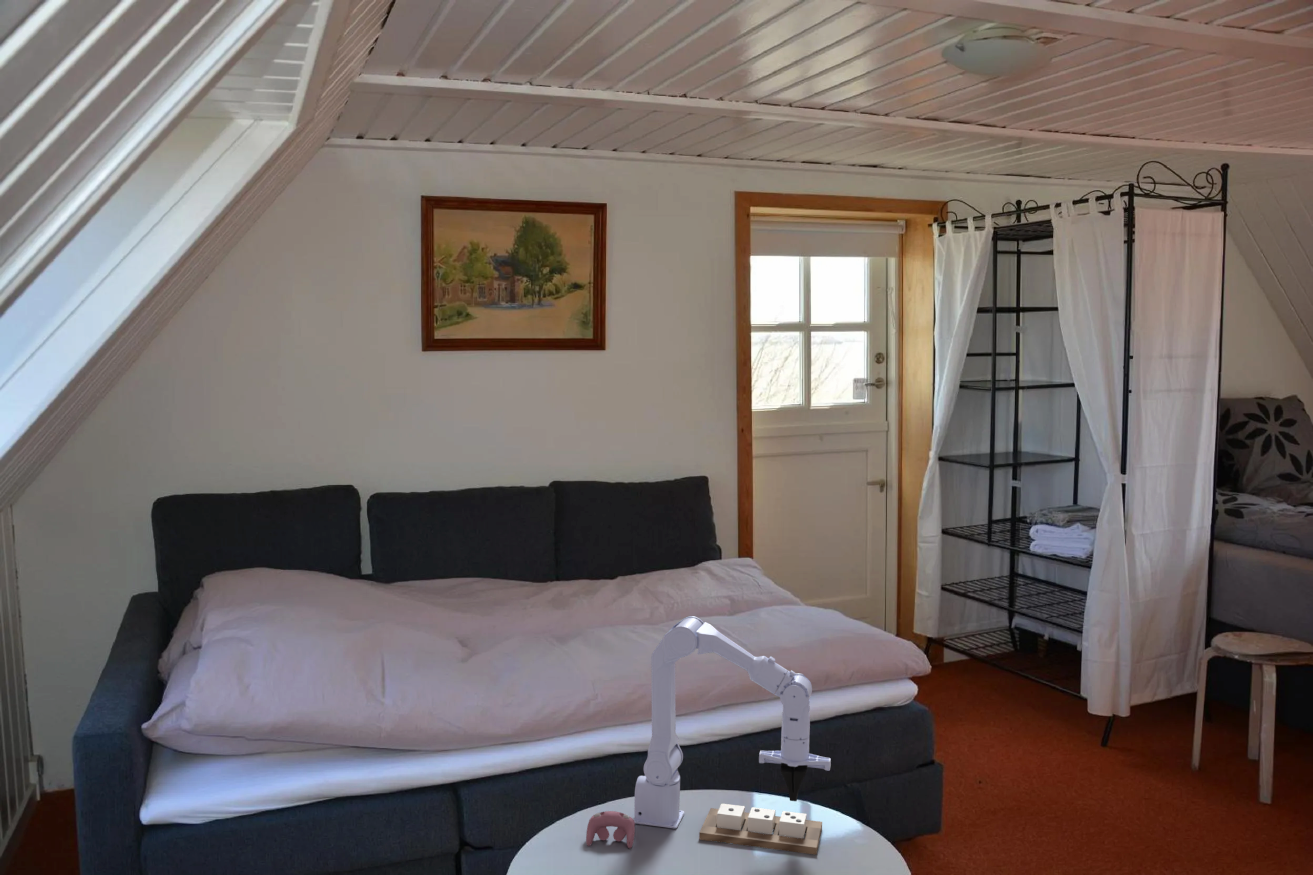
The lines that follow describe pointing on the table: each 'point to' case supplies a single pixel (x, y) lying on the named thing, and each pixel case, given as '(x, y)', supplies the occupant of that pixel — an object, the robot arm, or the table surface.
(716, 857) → the table surface
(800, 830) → the three dot tile
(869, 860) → the table surface
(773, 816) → the two dot tile
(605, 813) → the video game controller
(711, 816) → the tile board
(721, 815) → the one dot tile
